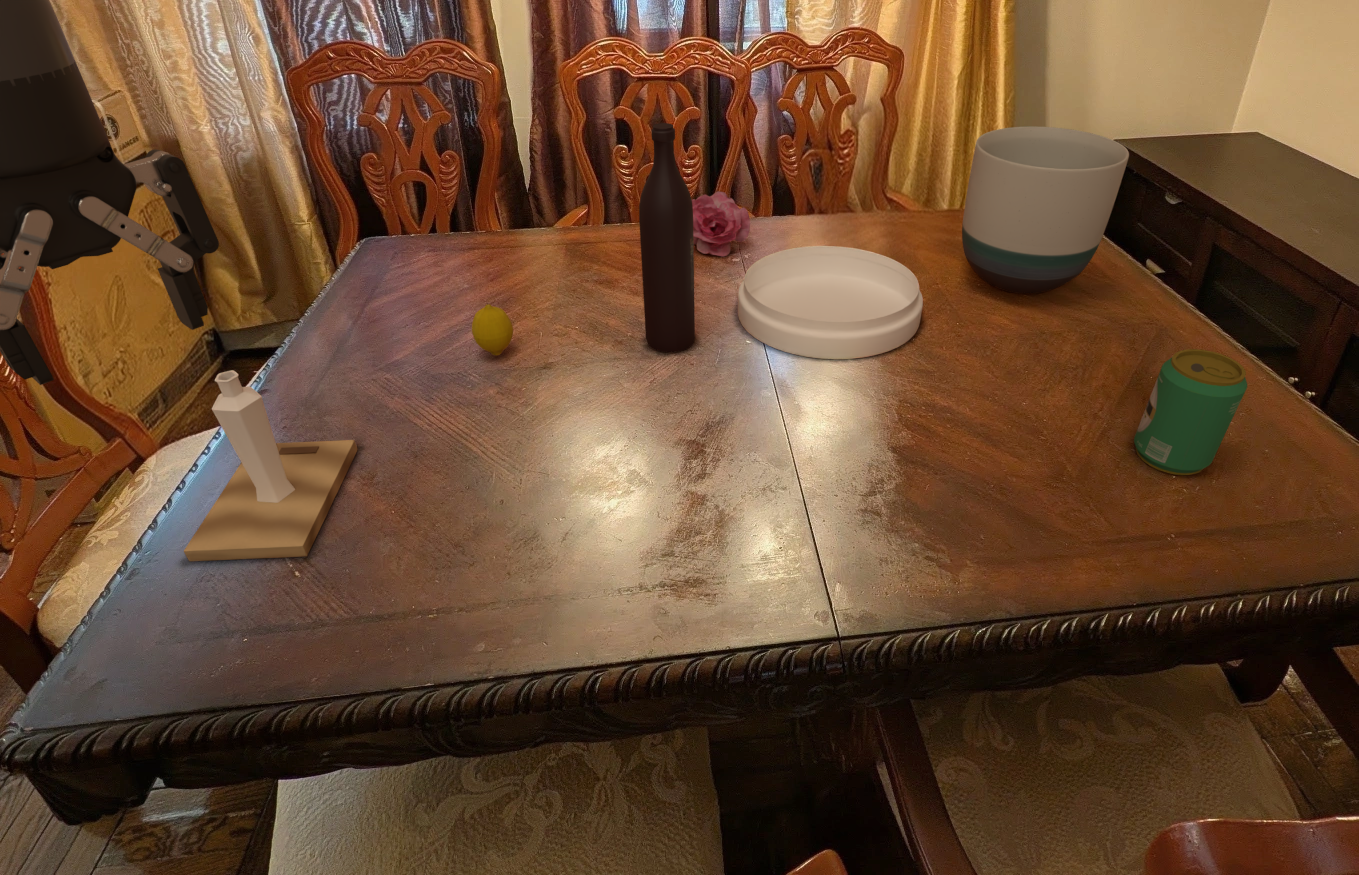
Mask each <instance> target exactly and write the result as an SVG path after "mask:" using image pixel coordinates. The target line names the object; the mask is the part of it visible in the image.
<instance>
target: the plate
mask: <svg viewBox="0 0 1359 875" xmlns="http://www.w3.org/2000/svg"><path fill="white" fill-rule="evenodd" d="M923 306H924V298H923V294H922V292H921V289H920V284H919V280H918V278H917V276H916V275H915V274H914V273H913V271H911V269H909V268H908V267H907V266H906V265H904V264H902V263H901V262H899V261H897V260H895V259H893V258H891V257H888V256H885V255H883V254H881V253H877V252H874V251H870V250H866V249H861V248H856V247H848V246H837V245H810V246H807V245H806V246H800V247H799V246H798V247H793V248H789V249H788V248H787V249H783V250H779V251H776V252H773V253H770V254H767V255H765V256H763V257H761V258H759V259H758V260H756V261H755V262H754V263H752V264H751V265H750V266H749V267H748V268H747V270H746V271H745V274H744V278H743V280H742V281H741V282H740V284H739V287H738V291H737V316H738V320H739V323H740V324H741V326H742V327H743V329H744V330H745V331H746V332H747V333H748V334H749V335H750V336H752V337H753V338H755V339H756V340H758V341H759V342H761V343H763V344H764V345H766V346H769V347H771V348H773V349H776V350H778V351H780V352H781V351H782V352H784V353H787V354H791V355H795V356H796V355H797V356H800V357H806V358H812V359H822V360H852V359H853V360H854V359H863V358H867V357H868V358H869V357H873V356H877V355H881V354H885V353H888V352H890V351H893V350H895V349H897V348H899V347H901V346H903V345H905V344H906V343H907V342H909V341H910V340H911V339H912V338H913V337H914V336H915V335H916V333H917V332H918V329H919V327H920V324H921V319H922V312H923Z"/></svg>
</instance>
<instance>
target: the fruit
mask: <svg viewBox="0 0 1359 875" xmlns="http://www.w3.org/2000/svg"><path fill="white" fill-rule="evenodd" d="M471 333H472V338H473V340H474V341H475V343H476V344H477V346H478V347H480V349H482V350H483V351H485V352H488V353H490V354H491V355H493V356H494V357H495V356H496V357H497V356H501V355H502V353H503V352H504V350H506V348H508V346H510V344H511V342H512V339H513V336H514V326H513V322H512V321H511V319H510V317H509V315H508V314H507V312H505V310H504V309H503V308H501V307H497V306H492V304H490V303H486V304H485V306H484V307H482V308H480V309H479V310H478V311H476V312H475V314H474V316H473V319H472V322H471Z"/></svg>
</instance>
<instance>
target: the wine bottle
mask: <svg viewBox="0 0 1359 875" xmlns="http://www.w3.org/2000/svg"><path fill="white" fill-rule="evenodd" d="M650 133H651V141H653V162H652V167H651V170H650V172H649V174H648V177H647V179H646V180H645V183H644V186H643V187H642V191H641V193H640V198H639V205H638V211H639V212H638V221H639V223H638V224H639V240H640V255H641V256H640V257H641V275H642V277H641V278H642V293H643V294H642V295H643V311H644V325H645V326H644V328H645V329H644V330H645V340H646V343H647V345H648V347H649V348H650V349H652V350H654V351H657V352H661V353H678V352H682V351H685V350H687V349H689V348H691V347H692V346H693V344H694V342H695V340H696V317H695V314H696V312H695V306H696V305H695V247H694V236H693V206H692V200H693V199H692V196H691V193H690V190H689V187H688V185H687V183H686V182H685V180H684V178H683V176H682V175H681V172H680V170H679V168H678V166H677V164H676V156H675V144H674V142H675V140H676V129H675V128H674V124H672V123H668V122H659V123H656V124H653V125H652V129H651V132H650Z"/></svg>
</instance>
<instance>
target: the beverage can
mask: <svg viewBox="0 0 1359 875" xmlns="http://www.w3.org/2000/svg"><path fill="white" fill-rule="evenodd" d="M1246 375H1247V371H1246V369H1245V368H1244V366H1243V365H1242V364H1241V363H1240V362H1238V361H1237V360H1235V359H1234V358H1232V357H1229V356H1228V355H1225V354H1222V353H1219V352H1216V351H1211V350H1207V349H1197V348H1187V349H1182V350H1179V351H1177V352H1175V353H1174V354H1173V355H1172V356H1171V357H1170V358H1169V359H1167V360H1166V361H1164V363H1163V364H1162V366H1161V367H1160V370H1159V373H1158V376H1157V378H1156V381H1155V383H1154V386H1153V388H1152V391H1151V393H1150V396H1149V399H1148V401H1147V404H1146V406H1145V409H1144V411H1143V414H1142V416H1141V419H1140V422H1139V424H1138V427H1137V429H1136V432H1135V434H1134V437H1133V443H1134V446H1135V452H1136V455H1137V456H1138V457H1139V459H1140V460H1142V461H1143V462H1144V463H1145V464H1146V465H1148V466H1149V467H1151V468H1153V469H1155V470H1158V471H1161V472H1163V473H1167V474H1170V475H1177V476H1191V475H1197V474H1199V473H1201V472H1202V471H1203V470H1204V469H1206V468H1207V467H1209V466H1210V465H1211V464H1212V463H1213V461H1214V459H1215V457H1216V454H1217V452H1218V450H1219V449H1220V446H1221V444H1222V442H1223V441H1224V438H1225V435H1226V433H1227V431H1228V429H1229V427H1230V425H1231V423H1232V421H1233V419H1234V417H1235V415H1236V413H1237V409H1238V408H1239V406H1240V404H1241V402H1242V400H1243V398H1244V395H1245V393H1246V391H1247V389H1248V382H1247V379H1246Z"/></svg>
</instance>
